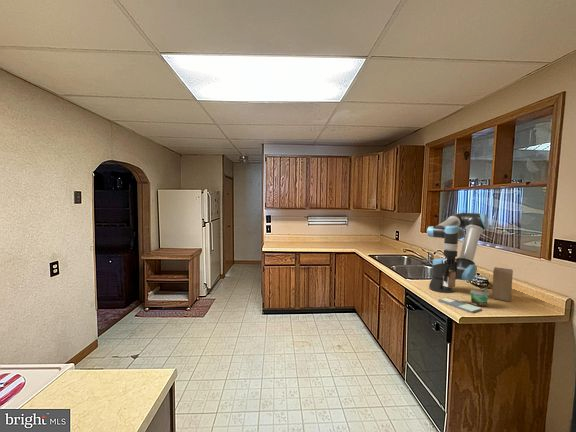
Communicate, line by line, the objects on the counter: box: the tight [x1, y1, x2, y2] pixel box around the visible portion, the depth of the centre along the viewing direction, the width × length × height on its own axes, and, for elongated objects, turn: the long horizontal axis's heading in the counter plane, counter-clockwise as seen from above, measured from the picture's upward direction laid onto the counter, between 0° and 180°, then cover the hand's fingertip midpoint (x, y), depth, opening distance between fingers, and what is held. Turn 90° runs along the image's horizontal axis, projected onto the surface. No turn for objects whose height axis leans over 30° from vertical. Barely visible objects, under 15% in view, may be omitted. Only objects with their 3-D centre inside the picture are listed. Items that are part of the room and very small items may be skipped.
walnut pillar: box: [443, 270, 457, 289], centre depth 179 cm, size 5×5×10 cm
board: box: [437, 297, 483, 314], centre depth 173 cm, size 21×10×1 cm, turn 27°
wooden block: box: [491, 266, 513, 303], centre depth 187 cm, size 10×10×20 cm
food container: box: [469, 287, 490, 308], centre depth 173 cm, size 12×6×10 cm, turn 106°
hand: (448, 285), depth 179 cm, fingers closed on walnut pillar, 5 cm apart
